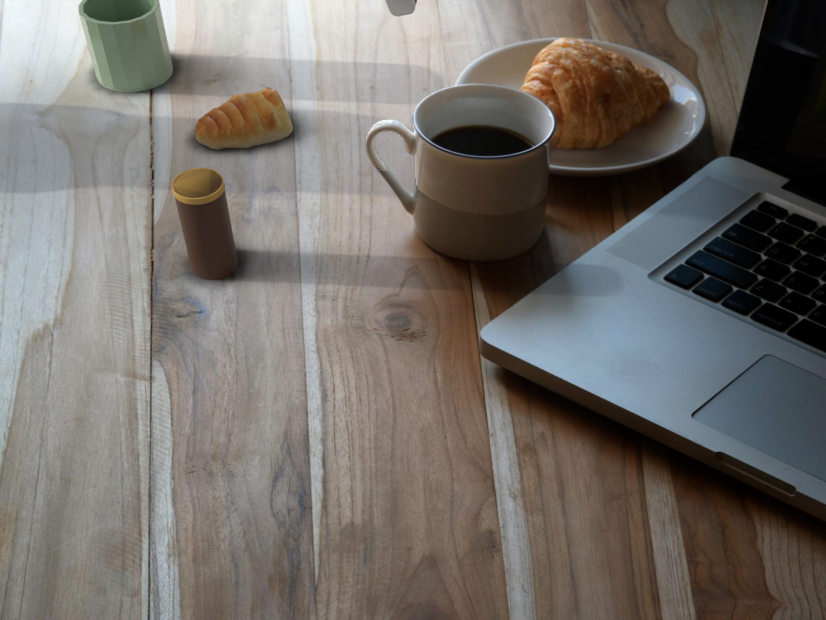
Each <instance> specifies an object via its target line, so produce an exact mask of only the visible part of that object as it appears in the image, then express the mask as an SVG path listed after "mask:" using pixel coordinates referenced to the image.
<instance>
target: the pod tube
mask: <svg viewBox="0 0 826 620" xmlns="http://www.w3.org/2000/svg"><path fill="white" fill-rule="evenodd" d="M224 180H225V179H224V177H223V175H222V174H221V173H220V172H219V171H217V170H216V169H213V168H208V167H194V168H189V169H186V170H184V171H182V172H180V173H179V174H177V175H176V176H175V177H174V178H173V180H172V182H171V190H172V195H173V196H174V201H175V205H176V210H177V213H178V217H179V223H180V226H181V227H180V228H181V231H182V235H183V240H184V244H185V247H186V248H185V249H186V253H187V255H188V261H189V265H190V269H191V272H192V273H193V275H195V277H197V278H198V279H199V278H200V279H202V280H207V281H216V280H221V279H224V278H227V277H228V276H231V275H232V274H233V273H234V272H236V270H237V268H238V265H239V260H238V255H237V248H236V244H235V243H236V242H235V238H234V232H233V227H232V220H231V216H230V211H229V205H228V199H227V194H226V190H225V189H226V188H225V187H226V185H225V181H224Z"/></svg>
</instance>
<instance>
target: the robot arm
mask: <svg viewBox="0 0 826 620" xmlns="http://www.w3.org/2000/svg"><path fill="white" fill-rule="evenodd" d="M384 1H385V3H386V7H387V8H388V11H389V12H390V14H391V15H392V16H394V17H401V16H402V17H403V16H407V15H412V14H413V13H414V12H415V10H416V5H417V3H418V0H384Z"/></svg>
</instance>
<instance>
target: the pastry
mask: <svg viewBox="0 0 826 620" xmlns="http://www.w3.org/2000/svg"><path fill="white" fill-rule="evenodd" d="M293 130H294V127H293V123H292V119H291V116H290V114H289V112H288V110H287V108H286V106H285V101H284V100H283V98H282V97H281V95H280V93H279V92H278V91H277V89H273V88H271V87H267V86H266V87H265V88H263V89H262V90H261V91H253V92H245V93H243V94H235V95H232V96H231V97H230V98H229V100H227V101H225V102H224V103H221V105H220V106H217V107H214V108H212V109H210V110H209V111H208V112H206V113H205V114H204V115H202V116H201V117H200V118H198V119H197V122H196V125H195V130H194V133H195V139H196V141H197V142H198V143H199V144H201V145H203V146H205V147H208V148H209V149H213V150H224V149H250V148H252V147H254V146H260V145H265V144H270V143H274V142H276V141H280V140H283V139H285V138H288V137H289V136H290V135H291V134H292V132H293Z"/></svg>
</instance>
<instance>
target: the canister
mask: <svg viewBox="0 0 826 620" xmlns="http://www.w3.org/2000/svg"><path fill="white" fill-rule="evenodd" d="M77 8H78V15H79V19H80V23H81V26H82V31H83V33H84V37H85V41H86V44H87V48H88V51H89V55H90V59H91V62H92V66H93V69H94V73H95V77H96V79H97V81H98V82H99V84H100V85H101V86H103V87H104V88H105V89H108V90H110V91H114V92H119V93H138V92H139V93H140V92H144V91H148V90H151V89H154V88H157V87H158V86H161V85H163V84H165V83H166V82H167V81H168V80H169V79H170V78H171V76H172V75H173V72H174V67H173V61H172V57H171V52H170V46H169V42H168V38H167V37H168V36H167V33H166V28H165V27H166V26H165V22H164V18H163V13H162V8H161V4H160V0H81V1H80V3H79V4H78V7H77Z"/></svg>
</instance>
